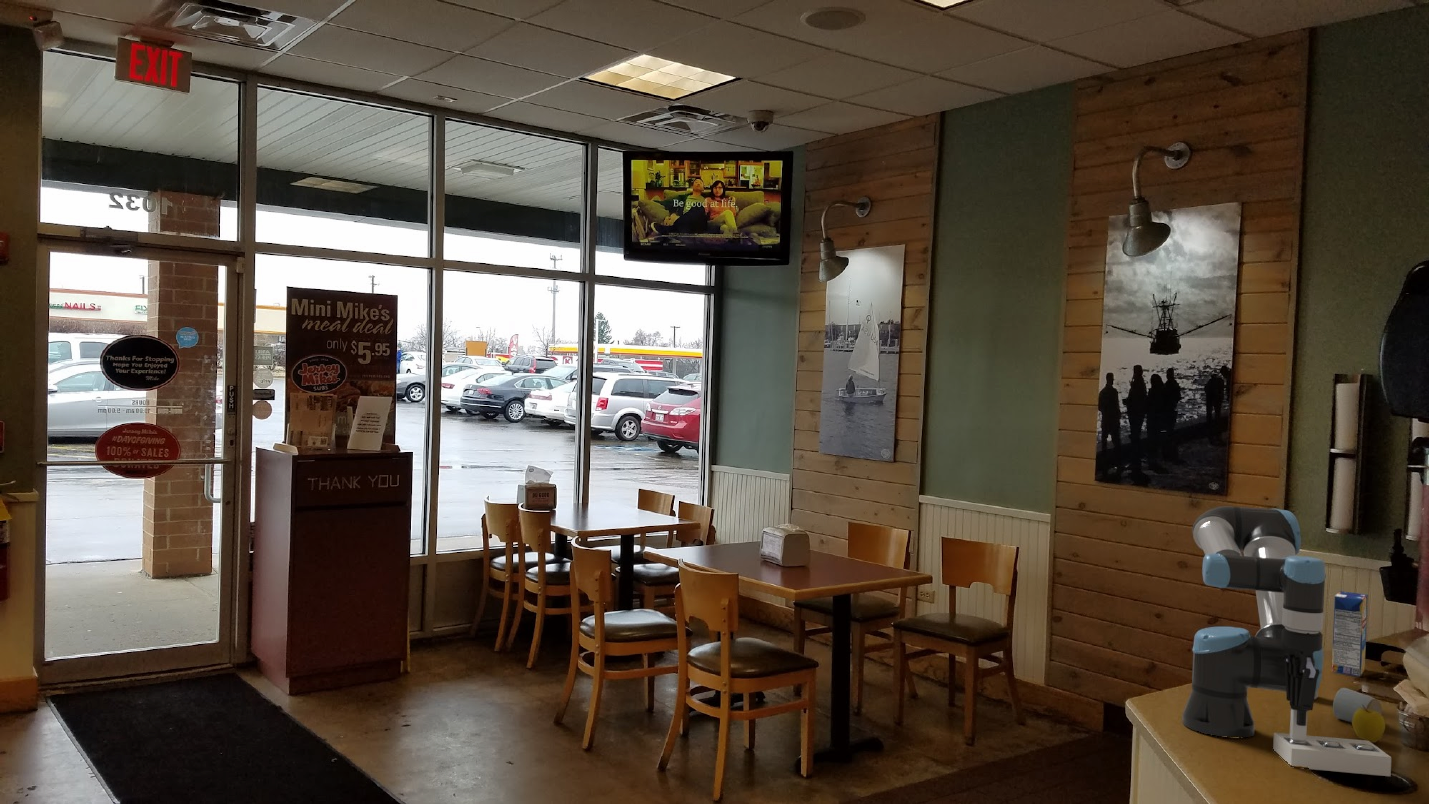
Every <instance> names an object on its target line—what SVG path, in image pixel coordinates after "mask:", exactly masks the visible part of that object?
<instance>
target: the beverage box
mask: <svg viewBox="0 0 1429 804" xmlns="http://www.w3.org/2000/svg"><path fill="white" fill-rule="evenodd" d="M1368 595H1369V594H1364V593H1359V592H1358V593H1356V592H1349V591H1342V590H1340V591H1338V593H1336V594H1335V595H1334V606H1333V607H1334V608H1333V609H1334V610H1333V629H1332V655H1331V656H1332V657H1331V673H1335V674H1338V675H1339V674H1340V675H1344V676H1345V675H1346V676H1349V677H1350V676H1352V677H1356V678H1360V677H1361V676H1362V675H1363V673H1364V671H1365V669H1366V664H1365V663H1366V646H1367V641H1366V640H1367V625H1368V624H1367V620H1368V619H1367V617H1368Z"/></svg>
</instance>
